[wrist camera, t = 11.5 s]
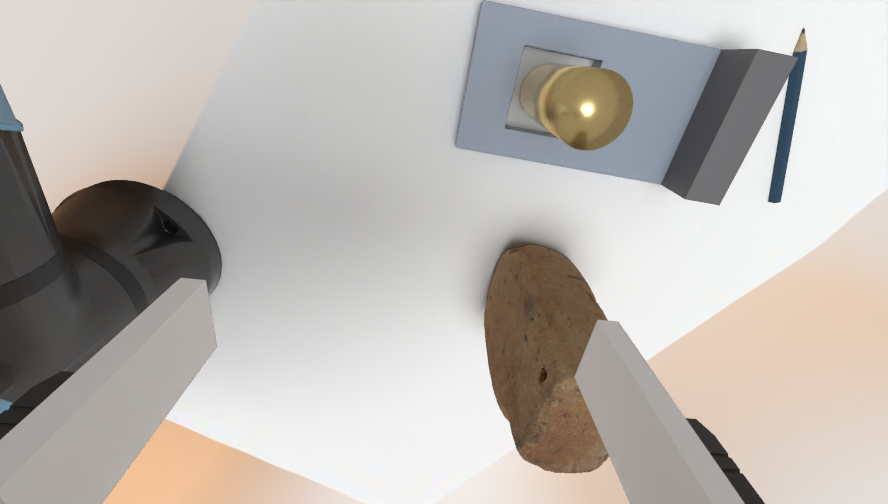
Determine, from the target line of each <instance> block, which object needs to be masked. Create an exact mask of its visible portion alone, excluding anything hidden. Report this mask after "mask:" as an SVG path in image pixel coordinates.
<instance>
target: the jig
mask: <svg viewBox="0 0 888 504" xmlns="http://www.w3.org/2000/svg"><path fill="white" fill-rule="evenodd" d="M524 46H526V47H531V48H536V49H541V50H546V51H551V52H556V53H561V54H566V55H571V56H576V57H581V58H586V59H591V60H594V63H593V66H592V67H594V68H605V69H610V70H613V71H615V72H617V73H619V74H620V75H621V76H622V77H624V78H625V80H626V81H627V82H628V84H629V86H630V88H631V91H632V95H633V110H632V114H631V117H630V120H629V122H628V124H627V126H626V128H625V129H624V130H623V132H622V133H621V134H620V135H619V136H618V137H617V138H616V139H615V140H614V141H613V142H611V143H610V144H608V145H606V146H604V147H602V148H599V149H596V150H590V151H584V150H578V149H575V148H572V147H570V146H569V145H567V144H566V143H564V142H563V141H562V140H560V139H559V138H558V137H556V136H555V135H554V134H549V133H544V132H538V131H533V130H527V129H522V128H517V127H511V126H506V125H505V124H506V120H507V116H508V112H509V108H510V103H511V99H512V95H513V91H514V87H515V82H516V78H517V74H518V70H519V66H520V61H521V57H522V53H523V49H524ZM797 59H798V57H794V56H789V55H784V54H779V53H775V52H770V51H765V50H760V49H735V50H720V49H715V48H711V47H706V46H701V45H696V44H691V43H687V42H682V41H677V40H672V39H667V38H663V37H658V36H653V35H648V34H643V33H639V32H634V31H629V30H624V29H619V28H615V27H610V26H605V25H600V24H595V23H591V22H586V21H581V20H576V19H572V18H567V17H562V16H557V15H552V14H548V13H543V12H538V11H533V10H528V9H524V8H519V7H514V6H509V5H504V4H500V3H495V2H490V1H485V0H483V1H482V3H481V7H480V13H479V18H478V23H477V29H476V34H475V40H474V45H473V50H472V56H471V61H470V67H469V72H468V77H467V83H466V88H465V94H464V99H463V104H462V110H461V115H460V121H459V126H458V132H457V137H456V142H455V144H456V148H461V149H467V150H472V151H478V152H483V153H489V154H495V155H500V156H506V157H511V158H517V159H522V160H528V161H534V162H539V163H545V164H550V165H556V166H561V167H567V168H573V169H578V170H584V171H589V172H595V173H600V174H606V175H612V176H617V177H623V178H628V179H634V180H639V181H645V182H651V183H656V184H661V185H663V186H664V187H666V188H668V189H669V190H671V191H673V192H674V193H676V194H678V195H679V196H681V197H682V198H684V199H687V200H693V201H699V202H704V203H710V204H716V205H720V203H721V201H722V199H723V198H724V196H725V194H726V192H727V190H728V188H729V186H730V184H731V183H732V181H733V179H734V177H735V175H736V173H737V171H738V170H739V168H740V166H741V164H742V162H743V160H744V158H745V156H746V155H747V153H748V151H749V149H750V147H751V145H752V143H753V142H754V140H755V138H756V136H757V134H758V132H759V130H760V128H761V127H762V125H763V123H764V121H765V119H766V117H767V115H768V113H769V112H770V110H771V108H772V106H773V104H774V102H775V100H776V99H777V97H778V95H779V93H780V91H781V89H782V87H783V85H784V84H785V82H786V80H787V78H788V76H789V74H790V72H791V71H792V69H793V67H794V65H795V63H796V61H797Z"/></svg>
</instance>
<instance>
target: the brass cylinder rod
mask: <svg viewBox="0 0 888 504" xmlns="http://www.w3.org/2000/svg"><path fill="white" fill-rule="evenodd" d="M520 101H521V105H522V107H523V109H524V111H525V112H526V114H527V115H529V116H530V117H531V118H532V119H534V120H535V121H536V122H538V123H539V124H540V125H542V126H543V127H544V128H546V129H547V130H548V131H550V132H551V133H552V134H554V135H555V136H556V137H558V138H559V139H560V140H562V141H563V142H564V143H566V144H567V145H569V146H570V147H572V148H575V149H578V150H584V151H590V150H596V149H599V148H602V147H604V146H606V145H608V144H610V143H611V142H613V141H614V140H615V139H616V138H617V137H618V136H619V135H620V134H621V133H622V132H623V130H624V129H625V128H626V126H627V124H628V122H629V120H630V117H631V114H632V110H633V95H632V91H631V88H630V86H629V84H628V82H627V81H626V80H625V78H624V77H622V76H621V75H620V74H619V73H617V72H615V71H613V70H610V69H605V68H594V67H582V66H570V65H558V64H544V65H541V66H539V67H537V68H535V69H533V70H532V71H531V72H530V73H529V74H528V75H527V77H526V78H525V80H524V81H523V84H522V86H521V91H520Z"/></svg>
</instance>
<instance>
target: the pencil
mask: <svg viewBox="0 0 888 504" xmlns="http://www.w3.org/2000/svg"><path fill="white" fill-rule="evenodd" d="M806 54H807V44H806V37H805V29H803V31H802V33H801V36H800V38H799V40H798V42H797V45H796V47H795V50H794V53H793V56H794V57H798V59H797V61H796V63H795V65H794V67H793V69H792V71H791V72H790V76H789V82H788V88H787V94H786V100H785V106H784V112H783V118H782V124H781V130H780V136H779V142H778V148H777V154H776V160H775V166H774V172H773V178H772V184H771V190H770V196H769V202H772V203H778V202H781V196H782V191H783V185H784V180H785V174H786V168H787V163H788V157H789V152H790V146H791V141H792V135H793V129H794V124H795V118H796V112H797V107H798V101H799V95H800V90H801V84H802V78H803V72H804V66H805V60H806Z"/></svg>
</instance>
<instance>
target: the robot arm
mask: <svg viewBox="0 0 888 504" xmlns="http://www.w3.org/2000/svg"><path fill="white" fill-rule="evenodd" d="M21 131H23V125H22V123H21V122H20V121H18V120H17V119H16V118H15V116H14V114H13V112H12V110H11V107H10V105H9V103H8V101H7V99H6V96H5V94H4V92H3V89H2V87H1V85H0V504H102V503H103V502H104V501H105V500H106V498H107V497H108V495H109V494H110V492H111V491H112V490H113V489H114V487H115V486H116V484H117V483H118V482H119V480H120V479H121V478H122V476H123V475H124V474H125V472H126V471H127V469H128V468H129V467H130V465H131V464H132V463H133V461H134V460H135V458H136V457H137V456H138V454H139V453H140V452H141V450H142V449H143V447H144V446H145V445H146V443H147V442H148V441H149V439H150V437H151V436H152V435H153V434H154V432H155V431H156V430H157V428H158V427H159V425H160V424H161V423H162V421H163V420H164V419H165V417H166V416H167V414H168V413H169V412H170V410H171V409H172V408H173V406H174V405H175V404H176V402H177V401H178V399H179V398H180V397H181V395H182V394H183V393H184V391H185V390H186V388H187V387H188V386H189V384H190V383H191V382H192V380H193V379H194V377H195V376H196V375H197V373H198V372H199V371H200V369H201V368H202V366H203V365H204V364H205V362H206V361H207V360H208V358H209V357H210V355H211V354H212V353H213V351H214V350H215V349H216V347H217V343H216V337H215V331H214V325H213V319H212V313H211V307H210V301H209V295H210V294H211V293H212V291H213V290H214V289H215V287H216V285H217V283H218V281H219V278H220V273H221V259H220V254H219V250H218V247H217V244H216V242H215V240H214V238H213V236H212V234H211V232H210V231H209V229H208V228H207V226H206V225H205V224H204V222H203V221H202V220H201V219H200V218H199V217H198V216H197V215H196V214H195V213H194V212H193V211H192V210H191V209H190V208H189V207H188V206H186V205H185V204H184V203H183V202H181V201H180V200H178V199H177V198H175V197H174V196H172V195H170V194H168V193H167V192H165V191H163V190H160V189H158V188H156V187H153V186H150V185H147V184H144V183H140V182H135V181H128V180H111V181H105V182H101V183H98V184H95V185H92V186H90V187H87V188H84V189H82V190H79V191H77V192H75V193H73V194H72V195H70V196H68V197H67V198H66V199H64V200H63V201H62V202H61V203H60V205H59V206H58V207H57V208H56V209H55V211H54V212H53V213H52V214H51V212H50V209H49V207H48V204H47V201H46V199H45V196H44V193H43V191H42V188H41V185H40V183H39V180H38V177H37V174H36V172H35V169H34V167H33V164H32V161H31V159H30V156H29V153H28V151H27V148H26V145H25V142H24V140H23V137H22V134H21ZM575 380H576V382H577V384H578V387H579V389H580V391H581V393H582V396H583V398H584V400H585V402H586V405H587V407H588V409H589V411H590V414H591V416H592V418H593V421H594V423H595V425H596V427H597V430H598V432H599V434H600V436H601V439H602V441H603V443H604V445H605V448H606V450H607V452H608V455H609V457H610V459H611V461H612V464H613V466H614V468H615V470H616V472H617V475H618V477H619V479H620V482H621V484H622V486H623V489H624V490H625V493H626V495H627V498H628V500H629V502H630V504H765V503H764V502H763V500H762V499H761V498H760V497H759V495H758V494H757V493H756V491H755V490H754V488H753V487H752V486H751V484H750V483H749V482H748V480H747V479H746V477H745V476H744V475H743V474H741V473H740V471H739V470H740V469H739V468H738V467H737V466H736V464H735V463H734V461H733V460H732V459H731V458H729V457H728V453H727V452H726V450H725V449H724V448H723V447H722V445H721V444H720V442H719V441H718V440H717V438H716V437H715V436H714V435H713V434H712V433H711V432H710V431H709V430H707V428H705V427H704V426H703V425H702V424H701V423H700V422H699V421H698V420H696V419H688V418H685V417H684V416H683V414H682V413H681V411H680V410H679V408H678V407H677V405H676V404H675V402H674V401H673V400H672V398H671V397H670V395H669V394H668V392H667V391H666V390H665V388H664V387H663V385H662V384H661V383H660V381H659V380H658V378H657V377H656V375H655V374H654V372H653V371H652V369H651V368H650V367H649V365H648V364H647V362H646V361H645V359H644V358H643V356H642V355H641V354H640V352H639V351H638V349H637V348H636V346H635V345H634V344H633V342H632V341H631V339H630V338H629V336H628V335H627V333H626V332H625V331H624V329H623V328H622V326H621V325H620V323H619V322H617V321H607V320H597V322H596V325H595V327H594V330H593V332H592V335H591V337H590V340H589V342H588V345H587V347H586V349H585V352H584V354H583V357H582V359H581V362H580V364H579V367H578V369H577V372H576V374H575Z"/></svg>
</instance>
